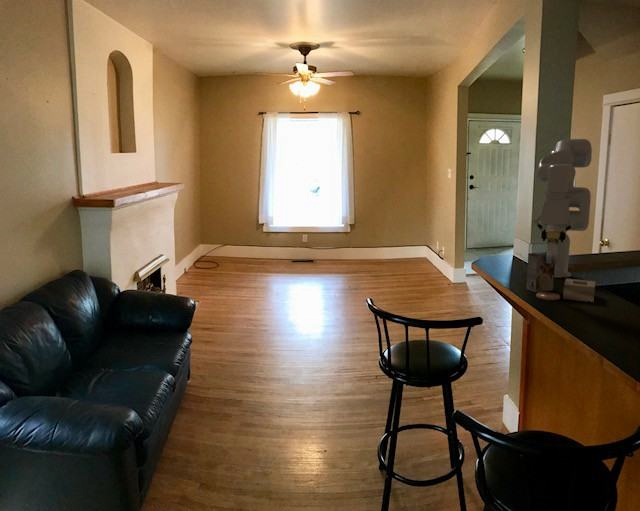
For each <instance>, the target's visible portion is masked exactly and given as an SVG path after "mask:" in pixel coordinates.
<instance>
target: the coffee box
mask: <svg viewBox="0 0 640 511" xmlns="http://www.w3.org/2000/svg"><path fill="white" fill-rule="evenodd" d="M527 255H528V256H527V271H526V290H528V291H531V292H533V293H539V292H551V291H554V284H555V277H554V269H555V264H548V263H546V255H547V251H545V252H544V251H542V252H531V253H527Z"/></svg>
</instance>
